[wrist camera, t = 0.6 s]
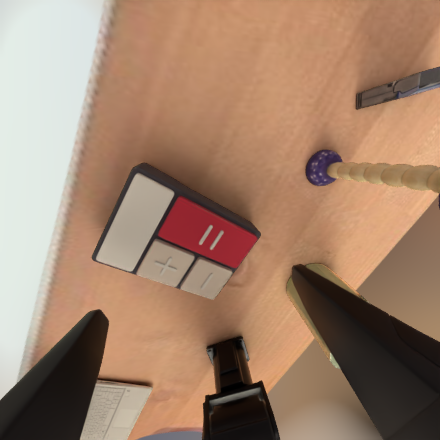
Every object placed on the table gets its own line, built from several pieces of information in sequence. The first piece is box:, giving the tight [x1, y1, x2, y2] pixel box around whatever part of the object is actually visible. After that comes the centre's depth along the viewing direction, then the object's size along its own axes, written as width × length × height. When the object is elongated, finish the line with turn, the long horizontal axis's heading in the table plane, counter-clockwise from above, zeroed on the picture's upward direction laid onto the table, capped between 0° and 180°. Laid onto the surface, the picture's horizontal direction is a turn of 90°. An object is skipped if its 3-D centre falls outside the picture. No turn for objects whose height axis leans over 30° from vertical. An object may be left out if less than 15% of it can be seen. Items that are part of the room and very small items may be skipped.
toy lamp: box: [306, 150, 440, 208], centre depth 14 cm, size 5×5×17 cm
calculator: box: [92, 163, 261, 299], centre depth 21 cm, size 11×4×15 cm
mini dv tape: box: [356, 67, 440, 109], centre depth 17 cm, size 8×2×6 cm, turn 105°
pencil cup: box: [286, 263, 369, 369], centre depth 24 cm, size 8×8×10 cm
